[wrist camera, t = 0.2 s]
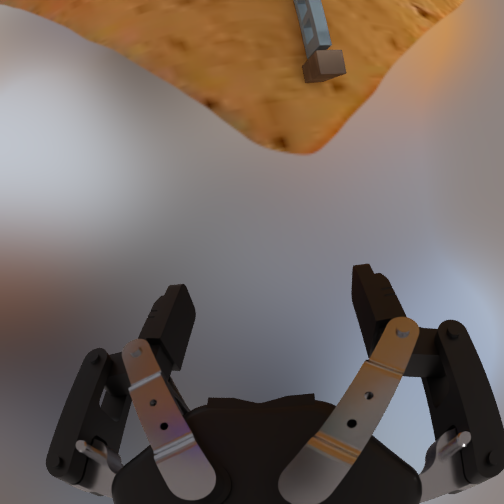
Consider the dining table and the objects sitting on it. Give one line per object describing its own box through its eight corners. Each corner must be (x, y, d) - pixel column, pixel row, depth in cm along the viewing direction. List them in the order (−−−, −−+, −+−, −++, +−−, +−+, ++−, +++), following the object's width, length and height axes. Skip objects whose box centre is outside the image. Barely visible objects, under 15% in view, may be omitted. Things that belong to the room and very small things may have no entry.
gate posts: (276, -36, 21) (277, -77, 10) (293, -37, 20) (301, -78, 10) (305, 82, 31) (320, 74, 21) (323, 81, 31) (346, 73, 20)
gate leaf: (287, -20, 21) (292, -51, 13) (296, -21, 21) (303, -51, 13) (307, 59, 28) (319, 45, 20) (316, 58, 28) (331, 44, 20)
